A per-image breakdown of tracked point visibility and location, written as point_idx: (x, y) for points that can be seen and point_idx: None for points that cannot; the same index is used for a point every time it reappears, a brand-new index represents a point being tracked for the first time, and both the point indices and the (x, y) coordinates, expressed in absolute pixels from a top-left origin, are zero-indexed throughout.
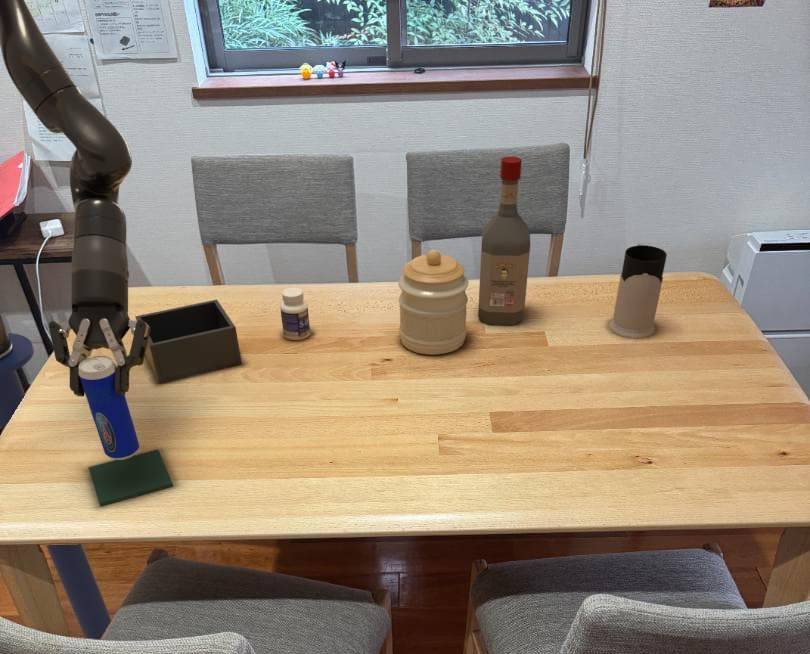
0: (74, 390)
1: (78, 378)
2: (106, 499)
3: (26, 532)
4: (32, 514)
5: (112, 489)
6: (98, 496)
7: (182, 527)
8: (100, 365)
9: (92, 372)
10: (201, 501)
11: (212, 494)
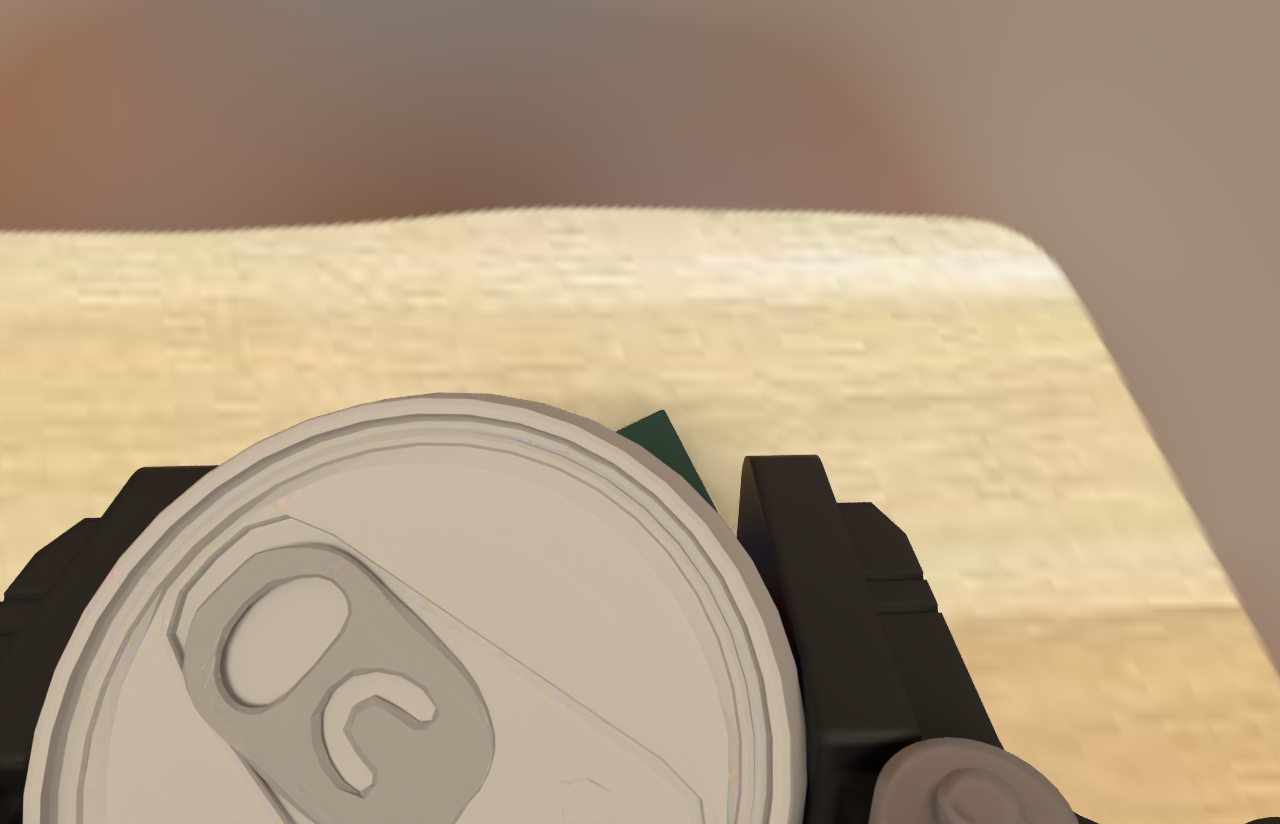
0: (803, 457)
1: (780, 590)
2: (633, 438)
3: (956, 226)
4: (987, 353)
5: None
6: (686, 464)
7: (205, 257)
8: (316, 746)
9: (397, 402)
10: (127, 456)
11: (70, 516)
